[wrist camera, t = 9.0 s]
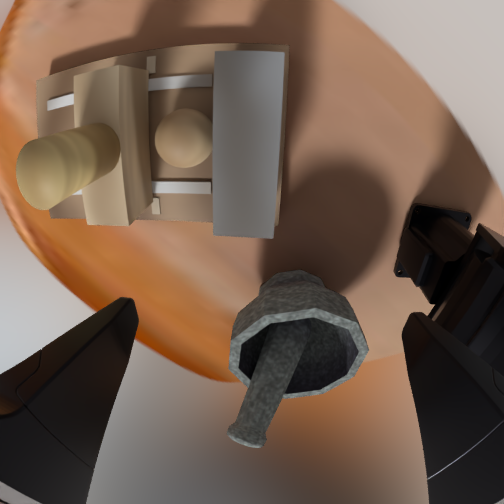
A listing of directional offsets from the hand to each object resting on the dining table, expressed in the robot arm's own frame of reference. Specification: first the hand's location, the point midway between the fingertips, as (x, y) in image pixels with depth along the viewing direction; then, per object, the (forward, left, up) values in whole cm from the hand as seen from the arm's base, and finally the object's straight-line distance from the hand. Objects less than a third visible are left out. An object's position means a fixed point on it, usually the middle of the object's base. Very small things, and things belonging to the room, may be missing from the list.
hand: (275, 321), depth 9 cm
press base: (+9, -4, -13) cm, 16 cm away
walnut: (+5, -4, -12) cm, 13 cm away
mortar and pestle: (-2, +10, -13) cm, 17 cm away
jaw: (+9, -4, -11) cm, 15 cm away
